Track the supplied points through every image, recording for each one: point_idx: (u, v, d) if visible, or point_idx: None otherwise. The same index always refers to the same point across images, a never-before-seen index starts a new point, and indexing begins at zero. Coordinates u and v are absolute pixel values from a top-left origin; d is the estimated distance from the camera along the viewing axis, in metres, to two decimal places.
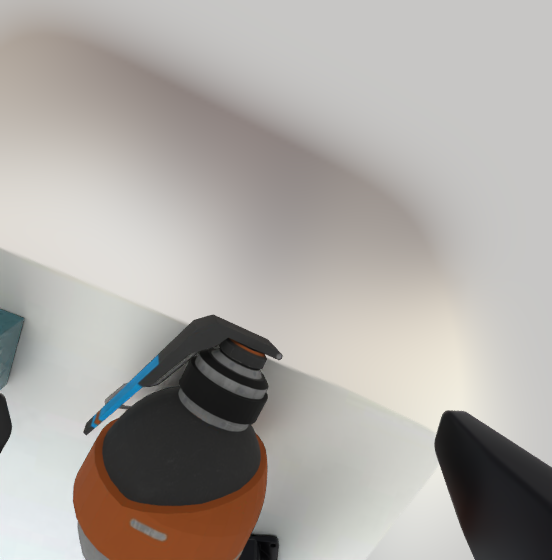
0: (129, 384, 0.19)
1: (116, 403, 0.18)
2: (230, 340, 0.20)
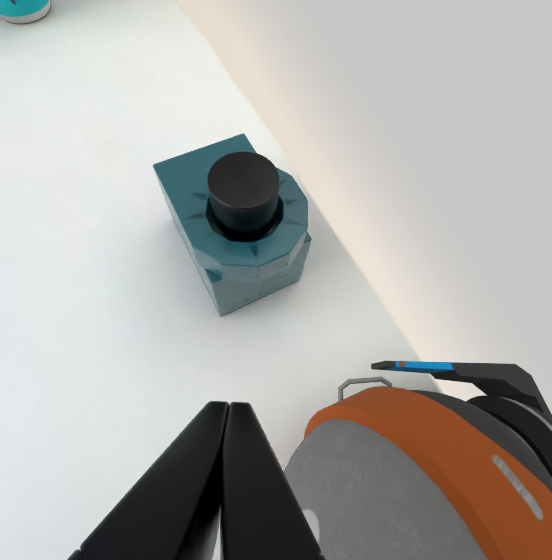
0: None
1: (426, 362, 0.16)
2: (526, 406, 0.17)
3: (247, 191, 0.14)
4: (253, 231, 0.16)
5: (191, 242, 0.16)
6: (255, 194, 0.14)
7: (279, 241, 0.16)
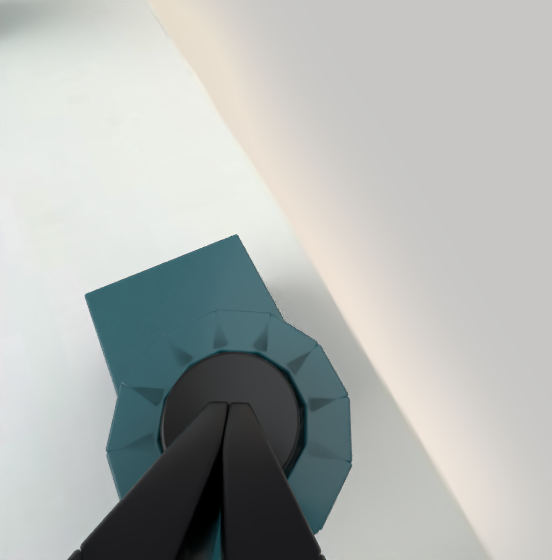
0: None
1: None
2: None
3: None
4: None
5: None
6: None
7: (299, 502, 0.08)
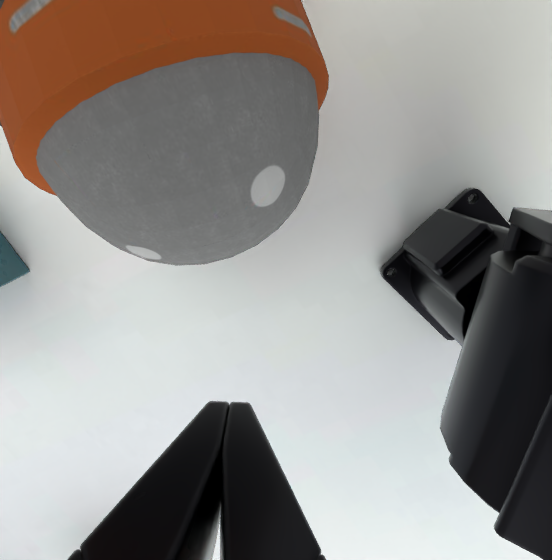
0: None
1: None
2: None
3: None
4: None
5: None
6: None
7: None
